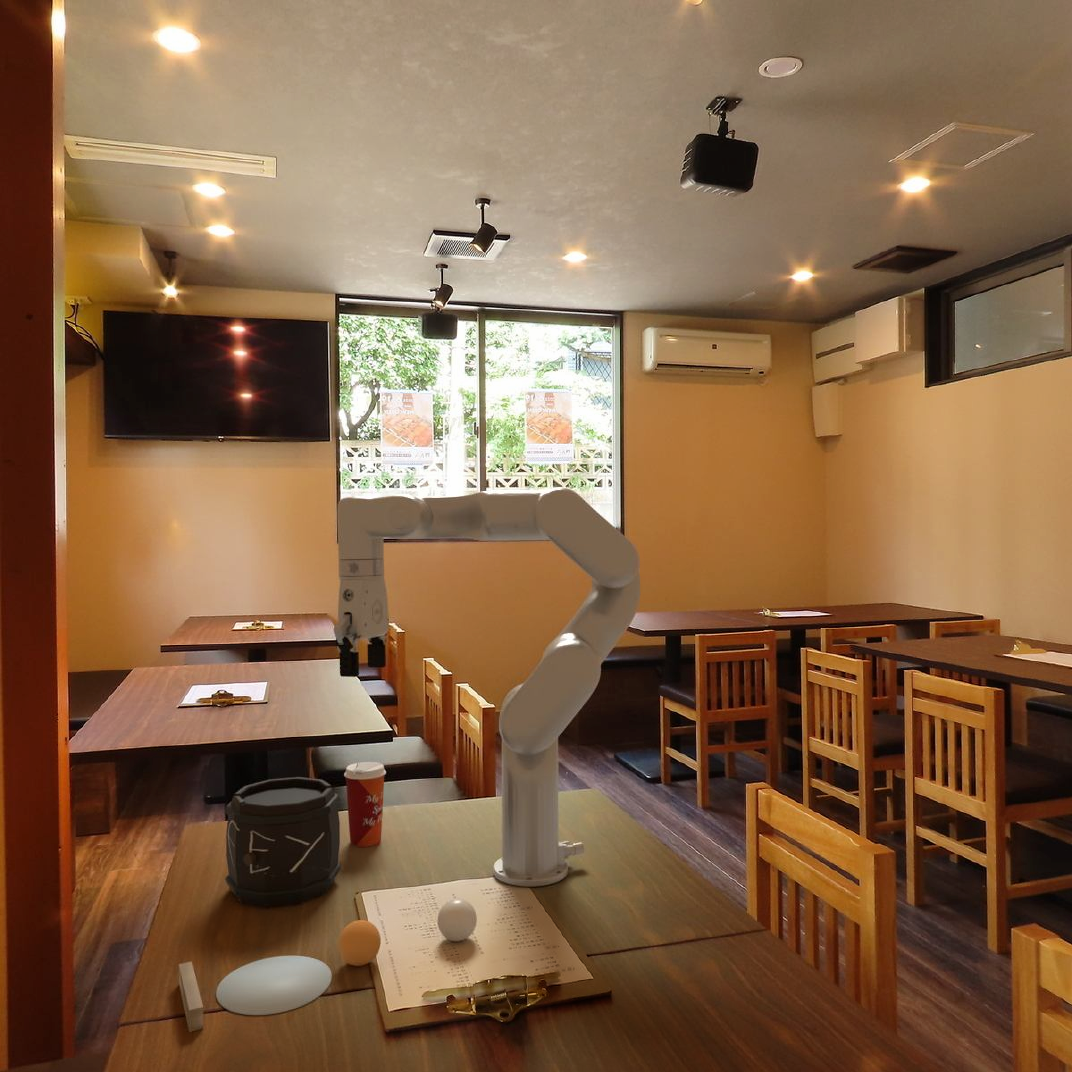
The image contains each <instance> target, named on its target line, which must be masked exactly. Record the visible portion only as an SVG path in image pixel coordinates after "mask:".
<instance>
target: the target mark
mask: <svg viewBox="0 0 1072 1072" xmlns="http://www.w3.org/2000/svg"><path fill="white" fill-rule="evenodd" d="M332 974H333V973H332V971H331V969H330V967H329V966H328V965H327V964H326V963H325V962H323V961H321V960H319V959H317V958H313V957H309V956H302V955H279V956H272V957H266V958H261V959H258V960H254V961H252V962H250V963H249V962H248V963H247V964H245V965H243V966H240V967H239V968H236V969H235V970H233V971H231V972H230V973H228V974H227V975H226V976H225V977H224V978H223V979H222V980H221V981H220V982H219V984H218V986H217V988H216V993H215V997H216V1000H217V1003H219V1005H220V1006H221V1007H222V1008H224V1009H225V1010H227V1011H229V1012H232V1013H236V1014H240V1015H246V1016H267V1015H268V1016H269V1015H274V1014H281V1013H285V1012H289V1011H292V1010H295V1009H298V1008H301V1007H303V1006H305V1005H307V1004H309V1003H311V1002H313V1001H315V1000H316V999H317V998H319V997H320V996H322V994H324V993H325V992H326V991H327V990H328V989H329V986H331V983H332V979H333V977H332Z"/></svg>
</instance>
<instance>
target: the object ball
mask: <svg viewBox="0 0 1072 1072" xmlns="http://www.w3.org/2000/svg"><path fill="white" fill-rule="evenodd" d="M381 938H382V937H381V933H380V931H379V930H378V928H377V927H376V925H375V924H373V923H372V922H371V921H368V920H365V919H364V920H363V919H359V920H355V921H352V922H350V923H349V924H347V925H346V926H345V927H344V929H342V931H341V934H340V935H339V939H338V951H339V953H340V956H341V958H342V959H343V961H344V962H346V963H347V964H349V965H351V966H354V967H355V966H356V967H359V966H360V967H362V966H365V965H367V964H369V963H371V962H372V961H373V960H374V959H375V958H376V956H377V955H378V953H379V951H380V948H381V944H382V943H381Z"/></svg>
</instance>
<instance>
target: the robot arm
mask: <svg viewBox="0 0 1072 1072" xmlns="http://www.w3.org/2000/svg"><path fill="white" fill-rule="evenodd" d="M384 538H388V539H396V540H425V539H426V540H429V539H433V540H434V539H465V540H466V539H468V540H474V541H480V542H483V541H484V542H502V541H507V542H509V541H520V542H521V541H550V542H552V543H553V544H554V545H555V547H557V548H558V549H559V550H560V551H561V552H562V553H563V554H564V555H565V556H566V557H568V559H570V560H571V561H572V562H573V563H574V564H575V565H577V567H578V568H580V569H581V570H582V571H583V572H584V573H585V574H586V575H588V576H589V577H590V578H591V587H590V591H589V593H588V595H587V597H586V599H585V600H584V601H583V603H582V605H581V606H580V607H579V608H578V609H577V611H576V613H575V614H574V615H573V616H572V618H571V619H570V620H569V622H568V623H567V624H566V625H565V626H564V627H563V628H562V630H561V631H560V632H559V634H558V635H557V636H556V637H554V639H553V640H552V641H551V642H550V643H549V644H548V645H547V647H545V650H544V651H543V654H542V658H541V661H540V662H539V663H538V665H537V666H536V667H535V668H534V670H533V671H532V672H531V673H530V675H529V676H528V677H527V678H526V680H525V681H524V682H523V683H521V684H518V685H516V686H515V687H513V688H512V689H511V690H509V692H508V693H507V694H506V696H505V697H504V698H503V701H502V704H501V708H500V712H499V716H498V717H499V718H498V730H499V734H500V737H501V840H502V841H501V852H502V854H501V856H502V857H500V858H499V859H497V860H496V861H495V862H494V863H493V865H492V866H493V867H492V870H493V871H492V872H493V875H494V877H495V878H496V879H497V880H498V881H500V882H502V883H505V884H507V885H511V886H517V887H543V886H547V885H552V884H555V883H557V882H561V880H563V879H565V878H566V877H567V875H568V873H569V865H568V863H567V861H566V860H567V859H569V857H571V856H578V855H583V854H584V853H585V845H584V843H583V842H581V841H580V842H575V843H571V842H570V841H569V840H563V841H560V839H559V838H560V837H559V833H560V831H559V737H560V735H561V734H562V733H563V731H565V730H566V728H567V726H569V724H570V723H571V722H572V720H573V719H574V718H575V717H576V715H577V714H578V713H579V711H580V710H582V708H583V706H584V705H585V704H586V703H587V702H588V700H590V698H591V696H592V695H593V693H594V691H595V689H596V688H597V686H598V684H599V682H600V679H601V673H602V672H601V671H602V668H601V667H602V666H601V665H602V663H603V662H605V659H607V657H608V656H609V654H610V653H611V652H612V650H613V649H614V648H615V647H616V645H617V643H618V642H619V641H620V640H621V638H622V637H623V635H624V634H625V633H626V631H627V630H628V628H629V627H630V625H631V623H632V622H633V620H634V618H635V616H636V614H637V612H638V608H639V604H640V601H641V589H642V587H641V576H640V571H639V570H640V565H641V564H640V562H641V561H640V555H639V552H638V549H637V548H636V546H635V545H634V544H633V542H632V541H631V540H630V539H628V538H627V536H625V535H624V533H621V531H620V530H618V529H617V528H616V527H615V526H614V525H613V524H612V523H610V522H609V521H608V520H607V519H606V518H604V516H602V515H601V514H600V513H599V512H598V511H597V510H595V508H594V507H592V505H590V504H589V503H588V502H587V501H586V500H585V499H584V498H583V497H582V496H580V494H579V493H577V492H576V491H574V490H572V489H571V488H567V487H555V488H551V489H538V490H537V489H536V490H535V489H534V490H533V489H529V490H528V489H527V490H525V489H524V490H521V489H520V490H519V489H518V490H494V489H493V490H484V491H478V492H475V493H471V494H465V495H455V496H454V495H451V496H448V495H447V496H415V495H412V494H407V493H406V494H404V493H402V494H393V495H388V496H379V497H374V496H348V497H343V498H341V499H340V500H339V501H338V503H337V545H338V546H337V547H338V548H337V549H338V557H337V558H338V580H340V582H339V590H338V601H337V602H338V603H337V604H338V605H337V608H338V609H337V619H338V620H337V623H336V624H335V626H334V627H333V633H334V637H335V643H336V646H337V652H338V654H339V655H338V656H339V675H340V677H344V678H347V677H349V678H357V677H359V676H360V663H359V661H360V659H359V658H360V657H359V655H360V654H359V651H357V648H358V646H359V643H360V640H361V639H363V640H368V642H369V643H367V647H366V649H367V666H368V667H369V668H380V669H381V668H385V667H387V658H386V657H387V656H386V655H387V654H386V653H387V652H386V651H387V650H386V644H387V634H388V632H389V631H390V618H389V617H390V615H389V604H388V602H389V601H388V594H387V593H388V591H387V587H386V580H385V559H384V558H385V554H384V553H385V551H384V547H385V546H384Z"/></svg>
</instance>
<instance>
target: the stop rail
mask: <svg viewBox="0 0 1072 1072" xmlns="http://www.w3.org/2000/svg"><path fill="white" fill-rule="evenodd" d="M195 973H196V972H195V971H194V965H193V962H192V961H188V962H183V963H179V964H178V986H179V991H180V995H181V1000H182V1004H183V1009H184V1013H185V1017H186V1022H187V1023H186V1024H187V1029H188V1032H189V1033H191V1032H195V1031H199V1030H202V1029H203V1030H204V1005H203V1001H202V997H201V994H200V988H199V986H198V985H199V984H198V981H197V978H196V974H195Z"/></svg>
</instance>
